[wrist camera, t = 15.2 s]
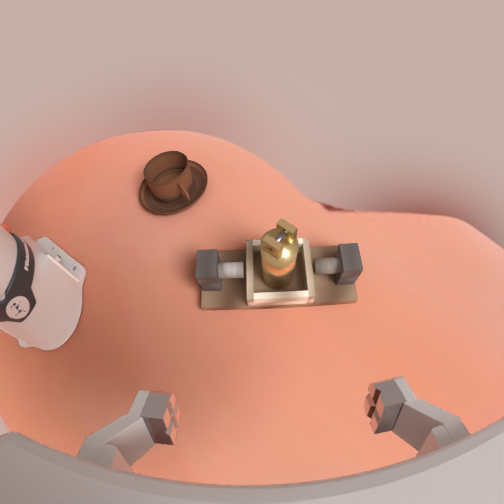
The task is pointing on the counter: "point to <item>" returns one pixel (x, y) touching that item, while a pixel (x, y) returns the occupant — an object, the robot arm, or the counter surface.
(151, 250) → the counter surface
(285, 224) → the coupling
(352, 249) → the shaft stand
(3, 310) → the robot arm
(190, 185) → the cup and saucer
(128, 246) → the counter surface
